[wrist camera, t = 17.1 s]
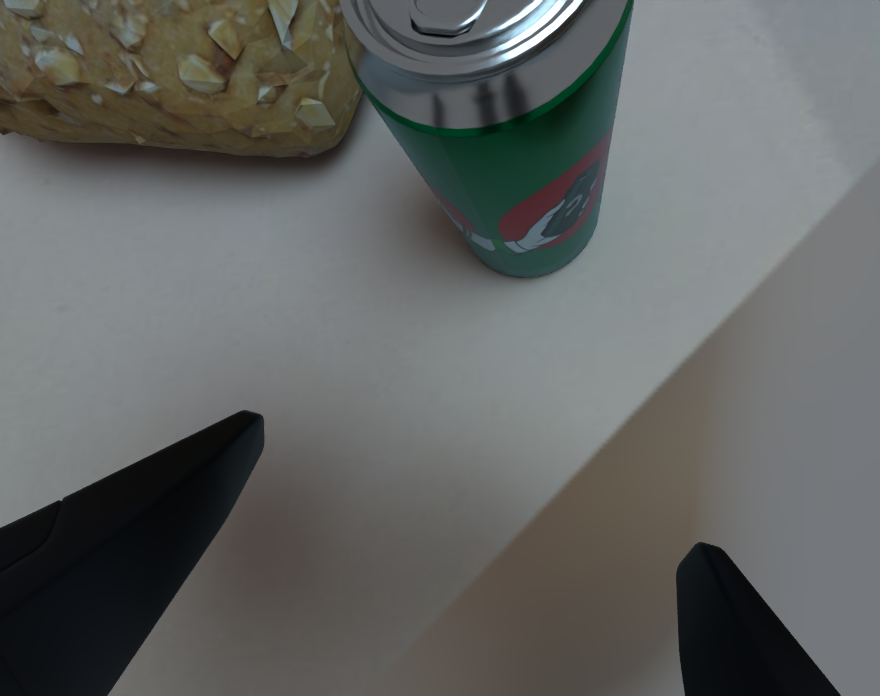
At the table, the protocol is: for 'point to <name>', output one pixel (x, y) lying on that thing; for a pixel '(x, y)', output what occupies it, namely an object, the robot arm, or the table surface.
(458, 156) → the soda can
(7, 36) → the bread
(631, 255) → the table surface
